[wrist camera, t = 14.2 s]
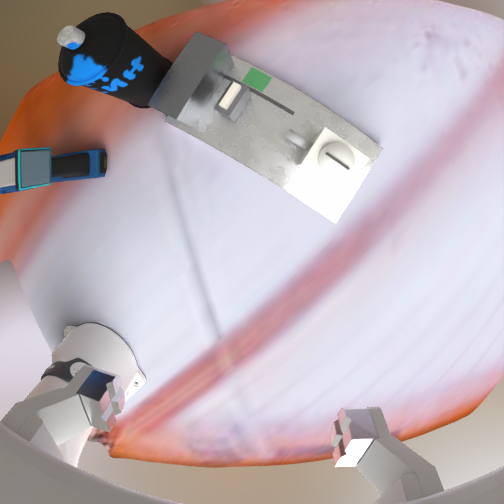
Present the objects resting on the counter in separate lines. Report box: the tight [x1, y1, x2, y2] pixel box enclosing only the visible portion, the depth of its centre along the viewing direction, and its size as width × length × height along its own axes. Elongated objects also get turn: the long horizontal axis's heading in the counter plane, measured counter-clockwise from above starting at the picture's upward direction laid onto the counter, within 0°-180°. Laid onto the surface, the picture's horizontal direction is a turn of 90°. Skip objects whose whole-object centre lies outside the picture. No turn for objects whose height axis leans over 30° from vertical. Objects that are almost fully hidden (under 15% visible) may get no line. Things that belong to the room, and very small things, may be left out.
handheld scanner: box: [0, 147, 107, 194], centre depth 28 cm, size 5×16×20 cm, turn 89°
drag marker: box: [214, 79, 251, 123], centre depth 30 cm, size 2×4×6 cm, turn 148°
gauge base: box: [148, 32, 383, 223], centre depth 31 cm, size 26×12×8 cm, turn 59°
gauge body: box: [285, 127, 369, 195], centre depth 31 cm, size 9×5×6 cm, turn 59°
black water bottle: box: [57, 12, 173, 108], centre depth 24 cm, size 8×8×20 cm
